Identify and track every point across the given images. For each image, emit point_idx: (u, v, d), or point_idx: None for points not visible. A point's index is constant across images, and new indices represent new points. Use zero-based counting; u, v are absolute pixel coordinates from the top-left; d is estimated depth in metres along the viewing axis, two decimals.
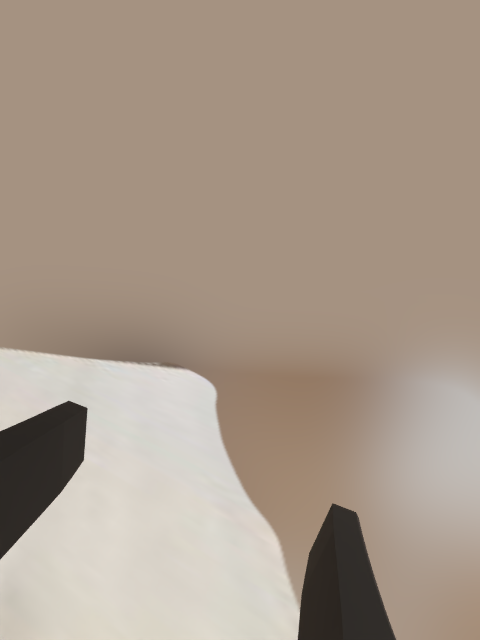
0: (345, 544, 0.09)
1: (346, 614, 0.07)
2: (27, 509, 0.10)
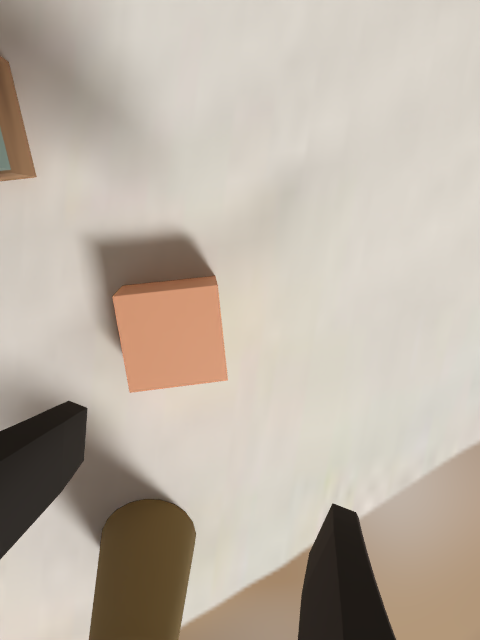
0: (345, 544, 0.09)
1: (346, 614, 0.07)
2: (27, 509, 0.10)
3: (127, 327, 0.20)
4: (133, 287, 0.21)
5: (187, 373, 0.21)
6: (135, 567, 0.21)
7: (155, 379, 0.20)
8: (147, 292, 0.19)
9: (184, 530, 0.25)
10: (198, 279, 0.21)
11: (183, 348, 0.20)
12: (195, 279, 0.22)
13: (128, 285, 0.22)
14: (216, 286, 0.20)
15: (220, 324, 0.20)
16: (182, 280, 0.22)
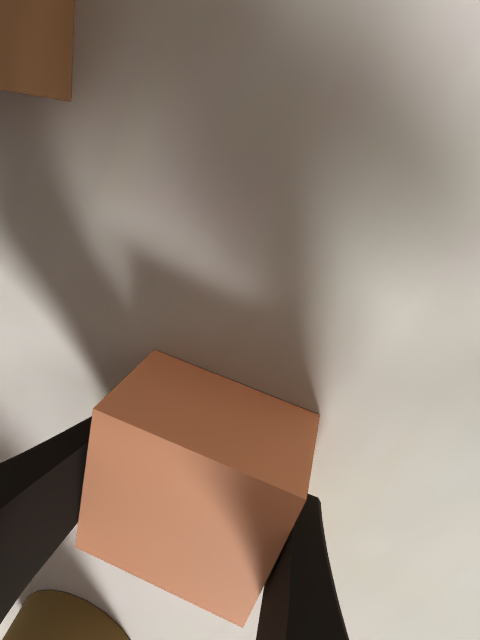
0: (302, 527, 0.09)
1: (295, 592, 0.07)
2: (60, 524, 0.10)
3: (102, 466, 0.10)
4: (159, 378, 0.11)
5: (178, 580, 0.11)
6: None
7: (121, 555, 0.11)
8: (161, 433, 0.09)
9: None
10: (282, 421, 0.10)
11: (187, 547, 0.10)
12: (277, 416, 0.10)
13: (159, 359, 0.11)
14: (302, 500, 0.08)
15: (275, 555, 0.09)
16: (253, 403, 0.11)
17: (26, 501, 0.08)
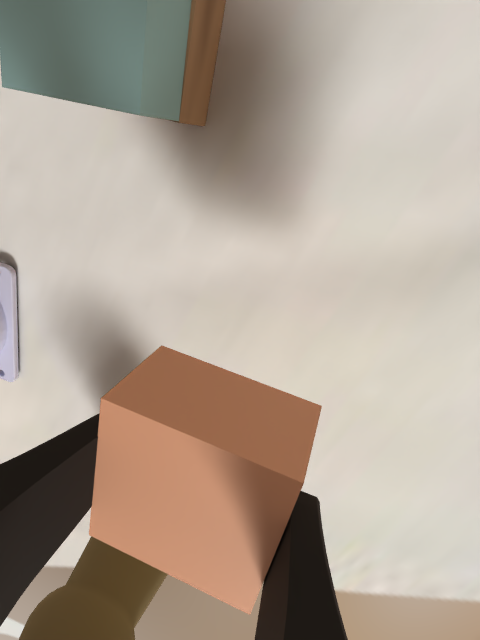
0: (301, 526, 0.09)
1: (293, 591, 0.07)
2: (62, 524, 0.10)
3: (111, 454, 0.10)
4: (165, 371, 0.11)
5: (186, 566, 0.11)
6: None
7: (131, 543, 0.11)
8: (165, 420, 0.09)
9: None
10: (284, 411, 0.11)
11: (193, 532, 0.10)
12: (279, 406, 0.11)
13: (165, 354, 0.12)
14: (300, 483, 0.09)
15: (276, 540, 0.10)
16: (256, 394, 0.11)
17: (27, 502, 0.08)
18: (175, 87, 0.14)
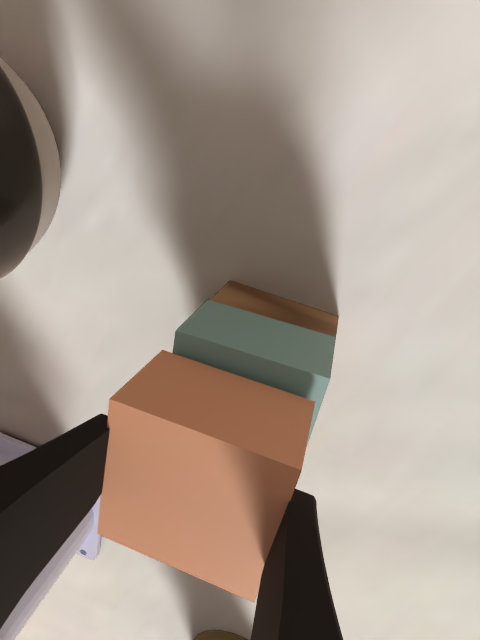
0: (297, 525, 0.09)
1: (288, 589, 0.08)
2: (63, 525, 0.10)
3: (119, 453, 0.11)
4: (167, 373, 0.12)
5: (192, 559, 0.11)
6: None
7: (139, 539, 0.12)
8: (170, 417, 0.10)
9: None
10: (280, 407, 0.11)
11: (199, 525, 0.11)
12: (275, 403, 0.12)
13: (167, 358, 0.12)
14: (298, 471, 0.09)
15: (278, 527, 0.10)
16: (254, 392, 0.12)
17: (29, 503, 0.08)
18: None
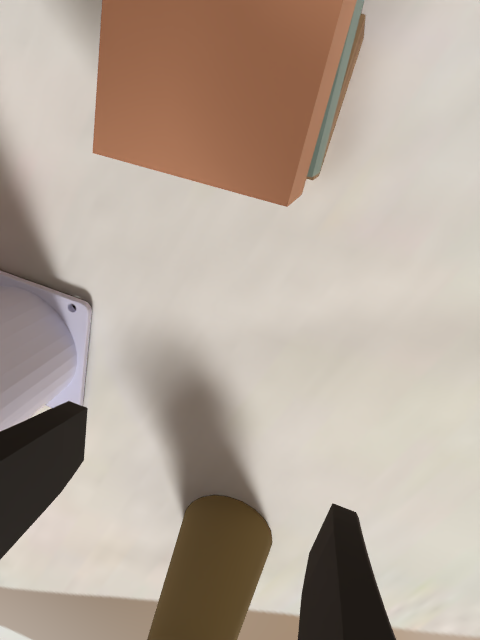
0: (345, 544, 0.09)
1: (346, 614, 0.07)
2: (27, 509, 0.10)
3: None
4: None
5: (211, 155, 0.09)
6: (217, 573, 0.22)
7: (145, 142, 0.10)
8: None
9: (264, 550, 0.25)
10: None
11: (221, 88, 0.09)
12: None
13: None
14: None
15: (325, 54, 0.08)
16: None
17: None
18: (327, 140, 0.13)
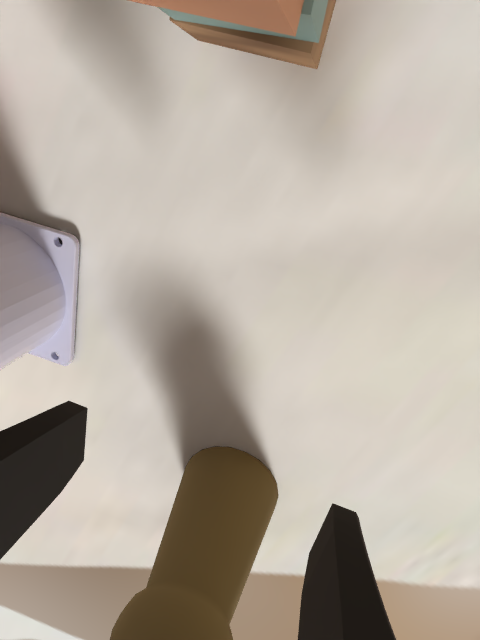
0: (345, 544, 0.09)
1: (346, 614, 0.07)
2: (27, 509, 0.10)
3: None
4: None
5: None
6: (220, 520, 0.20)
7: None
8: None
9: (270, 502, 0.23)
10: None
11: None
12: None
13: None
14: None
15: None
16: None
17: None
18: None
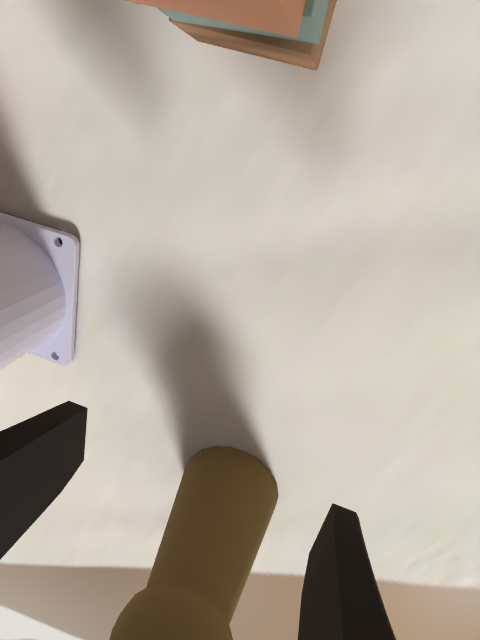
0: (345, 544, 0.09)
1: (346, 614, 0.07)
2: (27, 509, 0.10)
3: None
4: None
5: None
6: (220, 520, 0.20)
7: None
8: None
9: (270, 502, 0.23)
10: None
11: None
12: None
13: None
14: None
15: None
16: None
17: None
18: None
